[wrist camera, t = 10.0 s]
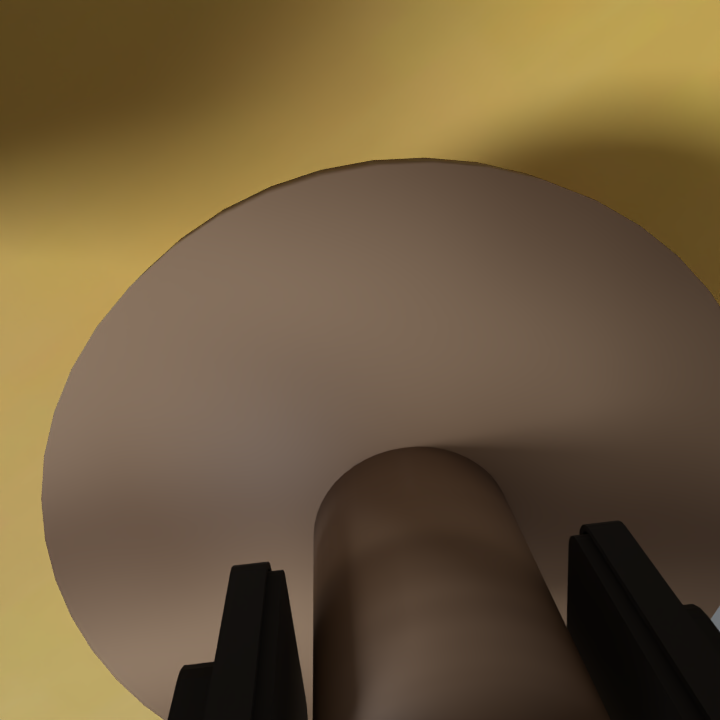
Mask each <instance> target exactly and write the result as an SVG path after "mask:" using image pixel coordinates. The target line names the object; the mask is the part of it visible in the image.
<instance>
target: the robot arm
mask: <svg viewBox="0 0 720 720" xmlns="http://www.w3.org/2000/svg"><path fill="white" fill-rule="evenodd" d="M567 629H568V631H569V633H570V635H571V637H572V639H573V641H574V644H575V646H576V648H577V650H578V652H579V654H580V656H581V658H582V660H583V663H584V665H585V667H586V669H587V671H588V673H589V675H590V677H591V679H592V681H593V684H594V686H595V688H596V690H597V692H598V694H599V696H600V698H601V700H602V703H603V705H604V707H605V709H606V711H607V713H608V715H609V717H610V719H611V720H720V631H719V630H718V629H717V627H716V626H715V625H714V623H713V622H712V621H711V619H710V618H709V617H708V615H707V614H706V613H705V612H704V611H703V610H702V609H701V608H700V607H698V606H696V605H694V604H687V605H683V604H682V603H681V602H680V600H679V599H678V597H677V596H676V595H675V593H674V592H673V591H672V589H671V588H670V586H669V585H668V584H667V582H666V581H665V580H664V578H663V577H662V575H661V574H660V573H659V571H658V570H657V569H656V567H655V566H654V564H653V563H652V562H651V560H650V559H649V557H648V556H647V555H646V553H645V552H644V551H643V549H642V548H641V546H640V545H639V544H638V542H637V541H636V540H635V538H634V537H633V535H632V534H631V533H630V531H629V530H628V529H627V527H626V526H625V525H624V524H623V523H622V522H621V521H619V520H617V521H608V522H600V523H591V524H584V525H582V526H581V528H580V531H579V535H573V536H570V538H569V546H568V586H567ZM168 720H308V714H307V703H306V696H305V690H304V684H303V678H302V672H301V666H300V660H299V654H298V648H297V642H296V636H295V630H294V624H293V618H292V612H291V606H290V600H289V594H288V588H287V582H286V577H285V572H284V570H276V571H272V569H271V565H270V562H259V563H251V564H242V565H233V566H232V568H231V571H230V576H229V582H228V587H227V593H226V598H225V604H224V610H223V615H222V621H221V626H220V632H219V637H218V643H217V648H216V654H215V659H214V662H206V663H198V664H190V665H183V667H182V668H181V670H180V672H179V675H178V678H177V682H176V686H175V690H174V694H173V699H172V703H171V707H170V711H169V715H168Z"/></svg>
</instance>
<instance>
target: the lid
mask: <svg viewBox="0 0 720 720" xmlns="http://www.w3.org/2000/svg"><path fill="white" fill-rule="evenodd" d="M41 500H42V511H43V521H44V532H45V541H46V545H47V549H48V553H49V557H50V560H51V564H52V568H53V572H54V576H55V580H56V582H57V584H58V587H59V589H60V591H61V594H62V596H63V598H64V601H65V603H66V605H67V608H68V610H69V612H70V615H71V617H72V618H73V620H74V622H75V623H76V625H77V627H78V628H79V630H80V631H81V633H82V635H83V636H84V638H85V640H86V641H87V643H88V644H89V646H90V648H91V649H92V651H93V652H94V653H95V654H96V655H97V657H98V658H99V659H100V660H101V661H102V663H103V664H104V665H105V666H106V668H107V669H108V670H109V671H110V672H111V674H112V675H113V676H114V677H115V678H116V680H118V681H119V682H120V683H121V684H122V685H123V686H124V687H125V688H126V689H127V690H128V691H129V692H130V693H132V694H133V695H134V696H135V697H136V698H137V699H138V700H139V701H140V702H141V703H142V704H143V705H144V706H146V707H147V708H149V709H150V710H151V711H153V712H154V713H155V714H157V715H158V716H160V717H161V718H162V719H164V720H168V715H169V711H170V707H171V703H172V699H173V694H174V690H175V686H176V682H177V678H178V675H179V672H180V670H181V668H182V667H183V665H190V664H198V663H206V662H214V659H215V654H216V648H217V643H218V637H219V632H220V626H221V621H222V615H223V610H224V604H225V598H226V593H227V587H228V582H229V576H230V571H231V568H232V566H233V565H242V564H251V563H259V562H270V565H271V569H272V571H276V570H284V572H285V577H286V582H287V588H288V594H289V600H290V606H291V612H292V618H293V624H294V630H295V636H296V642H297V648H298V654H299V660H300V666H301V672H302V678H303V684H304V690H305V696H306V703H307V714H308V720H611V719H610V717H609V715H608V713H607V711H606V709H605V707H604V705H603V703H602V700H601V698H600V696H599V694H598V692H597V690H596V688H595V686H594V684H593V681H592V679H591V677H590V675H589V673H588V671H587V669H586V667H585V665H584V663H583V660H582V658H581V656H580V654H579V652H578V650H577V648H576V646H575V644H574V641H573V639H572V637H571V635H570V633H569V631H568V629H567V586H568V546H569V538H570V536H573V535H579V531H580V528H581V526H582V525H584V524H591V523H600V522H608V521H617V520H619V521H621V522H622V523H623V524H624V525H625V526H626V527H627V529H628V530H629V531H630V533H631V534H632V535H633V537H634V538H635V540H636V541H637V542H638V544H639V545H640V546H641V548H642V549H643V551H644V552H645V553H646V555H647V556H648V557H649V559H650V560H651V562H652V563H653V564H654V566H655V567H656V569H657V570H658V571H659V573H660V574H661V575H662V577H663V578H664V580H665V581H666V582H667V584H668V585H669V586H670V588H671V589H672V591H673V592H674V593H675V595H676V596H677V597H678V599H679V600H680V602H681V603H682V604H683V605H687V604H694V605H696V606H698V607H700V608H701V609H702V610H703V611H704V612H705V613H706V614H707V615H708V617H709V618H710V619H711V618H712V616H713V615H714V614H715V612H716V611H717V609H718V608H719V606H720V306H719V305H718V303H717V302H716V300H715V299H714V297H713V296H712V294H711V292H710V291H709V290H708V289H707V288H706V287H705V285H704V284H703V283H702V282H701V281H700V280H699V279H698V278H697V277H696V276H695V274H694V273H693V272H692V271H691V270H690V269H689V268H688V267H687V266H686V264H685V263H684V262H683V261H682V260H681V259H680V258H679V257H678V256H677V255H676V254H675V253H673V252H672V251H671V250H670V249H668V248H667V247H666V246H665V245H663V244H662V243H661V242H660V241H658V240H657V239H656V238H655V237H653V236H652V235H651V234H650V233H648V232H647V231H646V230H645V229H643V228H642V227H641V226H639V225H638V224H636V223H634V222H633V221H631V220H629V219H627V218H626V217H624V216H622V215H620V214H619V213H617V212H615V211H613V210H612V209H610V208H608V207H606V206H605V205H603V204H601V203H599V202H598V201H596V200H594V199H591V198H589V197H586V196H583V195H581V194H578V193H576V192H573V191H571V190H568V189H565V188H563V187H560V186H558V185H555V184H553V183H550V182H548V181H545V180H542V179H539V178H537V177H534V176H531V175H528V174H525V173H521V172H516V171H512V170H508V169H503V168H499V167H495V166H491V165H486V164H482V163H478V162H467V161H456V160H445V159H434V158H410V159H390V160H372V161H366V162H361V163H356V164H350V165H345V166H340V167H334V168H329V169H324V170H319V171H316V172H313V173H310V174H307V175H304V176H301V177H298V178H295V179H292V180H289V181H286V182H283V183H280V184H277V185H274V186H271V187H269V188H267V189H265V190H263V191H261V192H259V193H257V194H254V195H252V196H250V197H248V198H246V199H244V200H242V201H240V202H238V203H236V204H234V205H232V206H230V207H228V208H226V209H224V210H222V211H221V212H219V213H218V214H216V215H215V216H214V217H212V218H211V219H209V220H208V221H206V222H205V223H203V224H202V225H200V226H199V227H197V228H196V229H194V230H193V231H191V232H190V233H188V234H187V235H185V236H184V237H183V238H181V239H180V240H179V241H178V242H177V243H176V244H175V245H173V246H172V247H171V248H170V249H169V250H168V251H167V252H166V253H165V254H164V255H162V256H161V257H160V258H159V259H158V260H157V261H156V262H155V263H154V264H153V265H151V266H150V267H149V268H148V269H147V270H146V271H145V272H144V273H143V274H142V275H141V276H140V277H139V278H138V279H137V280H136V281H135V282H134V283H133V284H132V285H131V286H130V287H129V288H128V289H127V291H126V292H125V293H124V294H123V296H122V297H121V298H120V299H119V300H118V302H117V303H116V304H115V305H114V306H113V308H112V309H111V310H110V311H109V313H108V314H107V315H106V316H105V317H104V319H103V320H102V321H101V322H100V323H99V325H98V326H97V327H96V329H95V331H94V332H93V334H92V336H91V337H90V339H89V341H88V342H87V344H86V346H85V347H84V349H83V351H82V352H81V354H80V356H79V357H78V359H77V361H76V362H75V364H74V366H73V368H72V369H71V372H70V374H69V377H68V379H67V382H66V384H65V387H64V389H63V392H62V394H61V397H60V399H59V402H58V404H57V407H56V409H55V412H54V415H53V420H52V424H51V428H50V433H49V437H48V442H47V446H46V450H45V455H44V466H43V482H42V497H41Z"/></svg>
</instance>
